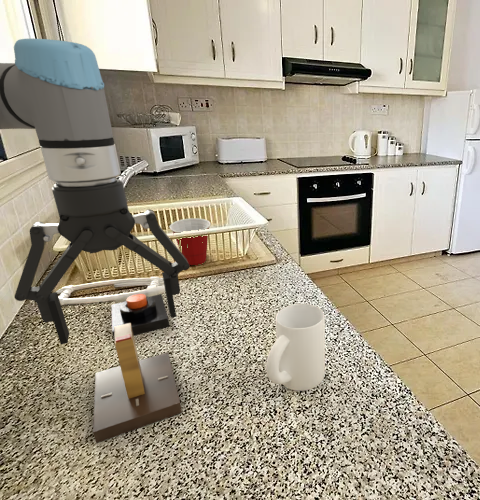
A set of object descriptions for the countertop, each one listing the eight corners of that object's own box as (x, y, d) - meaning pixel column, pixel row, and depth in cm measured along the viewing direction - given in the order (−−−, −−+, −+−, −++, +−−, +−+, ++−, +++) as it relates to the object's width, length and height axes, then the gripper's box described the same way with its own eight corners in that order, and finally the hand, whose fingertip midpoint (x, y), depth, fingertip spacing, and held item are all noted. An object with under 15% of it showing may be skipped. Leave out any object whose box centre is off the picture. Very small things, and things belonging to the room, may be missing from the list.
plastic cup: (174, 272, 103) (167, 231, 99) (176, 258, 112) (170, 219, 108) (216, 267, 107) (211, 227, 102) (214, 253, 116) (209, 216, 112)
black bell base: (113, 313, 83) (109, 297, 81) (163, 302, 87) (160, 287, 86) (114, 341, 73) (109, 323, 72) (169, 327, 78) (166, 310, 77)
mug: (251, 392, 61) (245, 330, 57) (297, 354, 70) (295, 298, 66) (289, 414, 57) (286, 348, 52) (333, 370, 66) (334, 312, 62)
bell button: (127, 303, 79) (125, 296, 79) (146, 299, 81) (145, 292, 81) (128, 311, 77) (126, 303, 76) (147, 306, 78) (146, 299, 78)
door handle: (167, 298, 89) (42, 314, 81) (171, 281, 98) (58, 293, 90) (166, 288, 88) (38, 303, 80) (170, 272, 97) (55, 283, 89)
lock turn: (127, 379, 60) (113, 325, 56) (142, 374, 61) (130, 321, 58) (128, 399, 56) (114, 342, 52) (144, 394, 57) (132, 337, 54)
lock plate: (98, 382, 62) (95, 371, 62) (169, 361, 68) (167, 351, 67) (96, 443, 51) (92, 431, 50) (182, 412, 57) (180, 401, 56)
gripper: (-62, 196, 38) (5, 367, 45) (197, 177, 50) (215, 314, 58) (-39, 184, 44) (17, 337, 51) (188, 169, 56) (205, 294, 64)
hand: (122, 325), depth 55 cm, fingers open, 13 cm apart
